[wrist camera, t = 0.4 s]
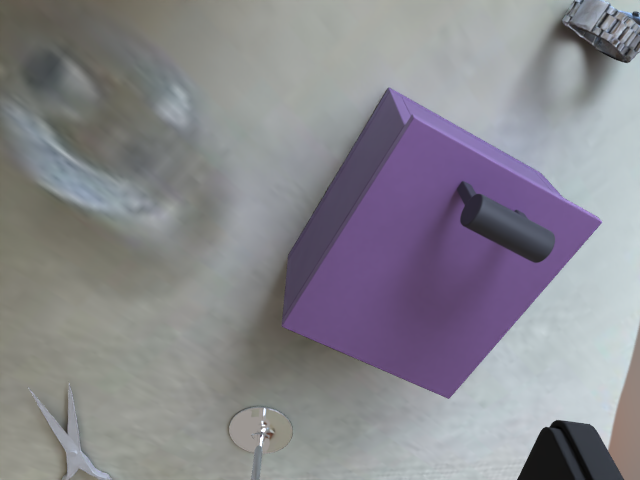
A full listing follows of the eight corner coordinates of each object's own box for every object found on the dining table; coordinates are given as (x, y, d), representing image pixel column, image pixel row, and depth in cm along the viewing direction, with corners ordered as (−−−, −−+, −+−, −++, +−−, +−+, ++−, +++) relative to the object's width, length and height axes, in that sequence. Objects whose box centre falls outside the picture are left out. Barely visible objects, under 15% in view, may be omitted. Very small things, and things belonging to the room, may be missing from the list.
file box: (388, 86, 42) (404, 124, 34) (541, 173, 45) (588, 225, 37) (287, 255, 49) (281, 319, 41) (427, 320, 52) (446, 391, 44)
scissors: (55, 524, 64) (-10, 389, 54) (58, 518, 65) (-6, 383, 55) (150, 519, 64) (101, 381, 54) (152, 512, 64) (104, 375, 55)
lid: (412, 113, 34) (427, 144, 29) (597, 216, 37) (638, 259, 32) (281, 319, 41) (276, 371, 36) (447, 391, 44) (462, 448, 39)
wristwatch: (572, 39, 42) (635, 69, 39) (551, 13, 38) (619, 44, 35) (599, -1, 41) (665, 27, 38) (580, -32, 37) (653, -4, 34)
